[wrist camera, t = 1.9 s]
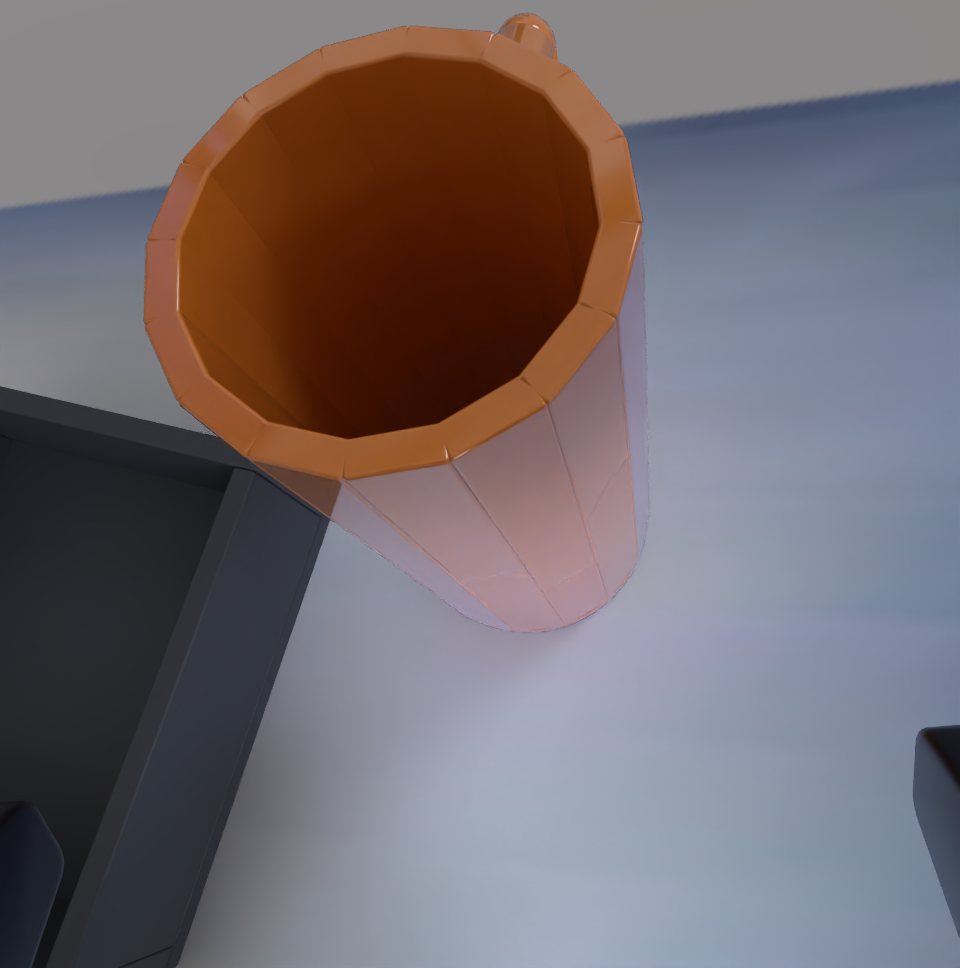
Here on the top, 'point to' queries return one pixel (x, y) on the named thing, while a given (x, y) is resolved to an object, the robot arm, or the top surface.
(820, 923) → the top surface
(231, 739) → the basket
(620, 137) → the tall orange mug
